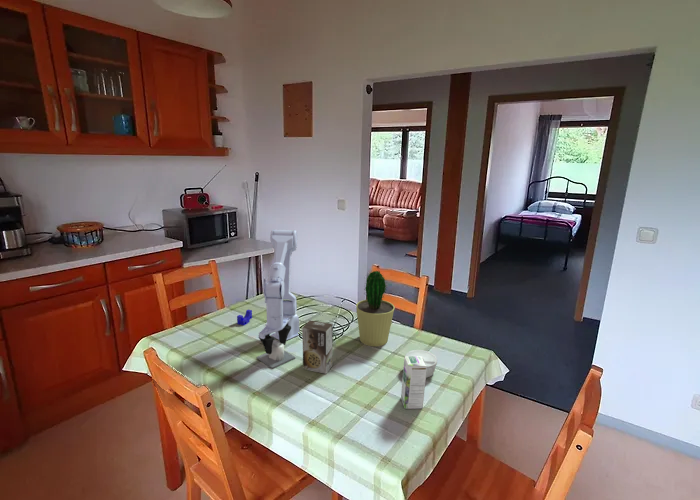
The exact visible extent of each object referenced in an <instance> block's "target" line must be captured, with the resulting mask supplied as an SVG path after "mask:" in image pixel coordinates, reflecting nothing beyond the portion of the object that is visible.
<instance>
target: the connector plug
mask: <svg viewBox="0 0 700 500" xmlns="http://www.w3.org/2000/svg"><path fill="white" fill-rule="evenodd" d="M284 351H285V345H284V344H282V343H280V342H279V340H275V339H274V340H273V343H272V353H271V354H267V356H268V357H269V358H271V359H274V360H276V361H281V360H283V359H284Z"/></svg>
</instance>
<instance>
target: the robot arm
mask: <svg viewBox="0 0 700 500" xmlns="http://www.w3.org/2000/svg"><path fill="white" fill-rule="evenodd" d="M269 240H270V244H271V247H272V248H273V250H274V252H273V253H274V255H273V263H272V264H271V265H270V266H269V269H268V270H269V271H268V275H267V282H265V283H264V286H263V297H264V303H265V304H266V323H265V324H264V325H265V326H264V328H263V329H262V330H260V331H259V332H258V339H259V340H260V342H261V343H262V345H263V347H264V351H265V353H267V354H271V353H272V343H273V340H275V339H277V341H279V342H280V343H282V344H284V346H286V343H287V341H288V340H290V339H293V338H296V337H298V336H300V335H299V334H298V332H299V333H300V318H299V315H298V314H297V307H298V304H297V303H298V302H297V297H296V295H295V294H293V293H292V292H291V268H292V267H291V265H292V254H293V252H296V251H297V248H298V231H297V230H296V229H293V230H292V229H272V230H271V231H270V238H269Z"/></svg>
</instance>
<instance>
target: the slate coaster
mask: <svg viewBox="0 0 700 500" xmlns="http://www.w3.org/2000/svg"><path fill="white" fill-rule="evenodd" d="M256 359H257V360H258V361H260V362H262V363H263V364H264V365H266V366H268V367H269V368H271V369H272V370H274V369H276V368H278V367H281V366H282V365H284V364H287V363H289V362H291V361H293V360H295V359H296V356H294V355H293V354H290V353H289V352H288V351H286V350H284V359H283V360H281V361H276V360H274V359H271V358H269V357H268V356H267V353H266V352H265V353H263V354H260V355H258V356H256Z"/></svg>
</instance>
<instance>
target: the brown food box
mask: <svg viewBox="0 0 700 500" xmlns="http://www.w3.org/2000/svg"><path fill="white" fill-rule="evenodd" d="M333 325H334V324H333V323H329V322H324V321H323V322H322V321H318V320H317V321H316V320H309V321H307V322H306V323H305V324H304V325H303V326H302V327H301V330H302V332H301V333H302V337H301V338H302V369H303V370H306V371H311V372H316V373H321V374H324V375H326V374H327V373H329V371H330V369H331V368H332V367H333V338H334V337H333V332H334V331H333V329H334V328H333V327H334V326H333Z"/></svg>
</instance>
